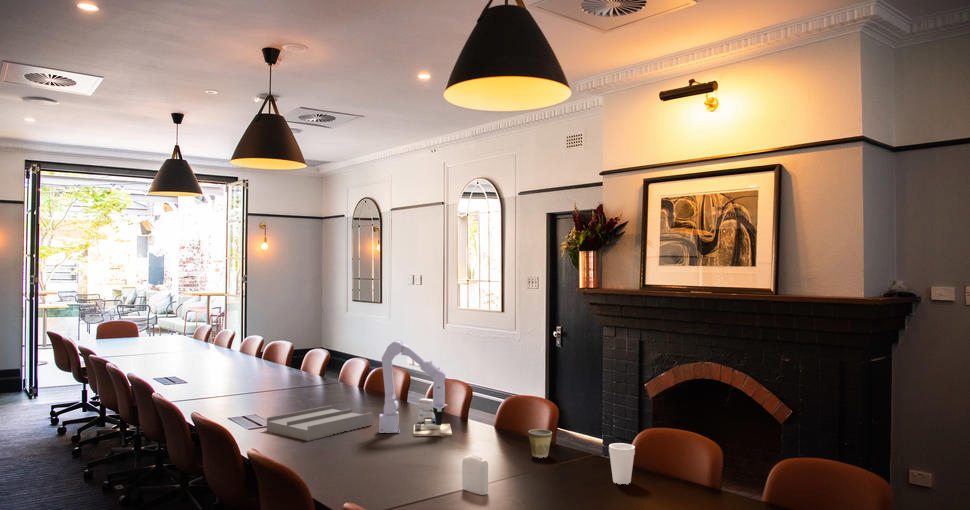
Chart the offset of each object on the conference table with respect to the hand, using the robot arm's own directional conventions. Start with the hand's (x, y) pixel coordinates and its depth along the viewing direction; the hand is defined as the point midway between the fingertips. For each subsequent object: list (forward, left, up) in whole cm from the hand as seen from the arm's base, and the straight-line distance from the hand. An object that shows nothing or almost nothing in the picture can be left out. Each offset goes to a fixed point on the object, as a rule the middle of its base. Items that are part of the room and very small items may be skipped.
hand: (438, 423), depth 313 cm
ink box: (-5, +24, -4) cm, 25 cm away
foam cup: (+65, -82, -4) cm, 105 cm away
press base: (-3, +2, -4) cm, 6 cm away
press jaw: (-5, +4, -3) cm, 7 cm away
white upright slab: (+10, -89, -4) cm, 90 cm away
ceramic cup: (+42, -43, -4) cm, 60 cm away
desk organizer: (-58, +13, -5) cm, 60 cm away
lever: (-5, 0, -3) cm, 6 cm away
